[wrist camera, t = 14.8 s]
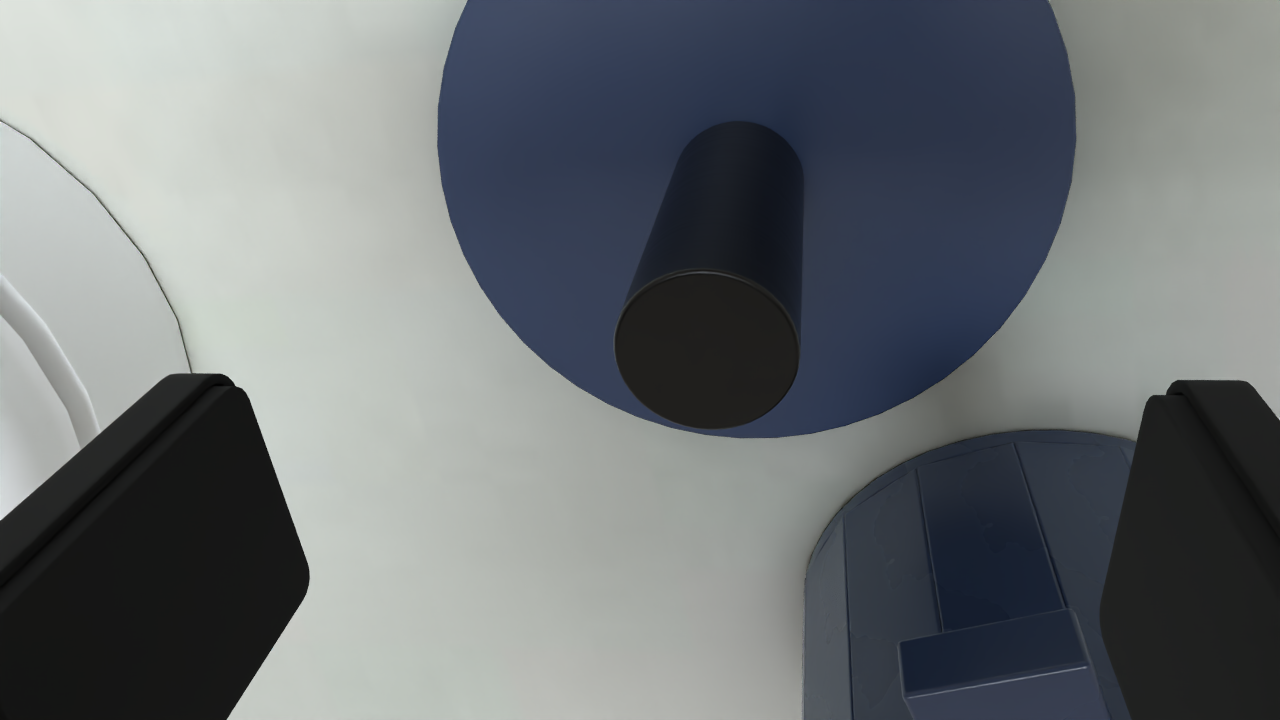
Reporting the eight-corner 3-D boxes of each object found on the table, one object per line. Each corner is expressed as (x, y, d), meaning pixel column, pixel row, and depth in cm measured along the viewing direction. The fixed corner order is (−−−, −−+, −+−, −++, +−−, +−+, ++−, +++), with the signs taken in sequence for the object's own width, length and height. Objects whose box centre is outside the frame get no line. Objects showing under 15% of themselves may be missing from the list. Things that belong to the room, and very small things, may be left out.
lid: (953, -336, 13) (1075, -456, 7) (1125, 314, 18) (1287, 577, 12) (343, 8, 17) (89, 120, 11) (613, 466, 22) (538, 720, 16)
